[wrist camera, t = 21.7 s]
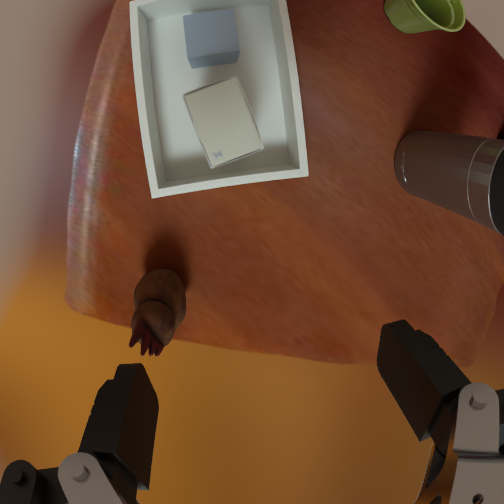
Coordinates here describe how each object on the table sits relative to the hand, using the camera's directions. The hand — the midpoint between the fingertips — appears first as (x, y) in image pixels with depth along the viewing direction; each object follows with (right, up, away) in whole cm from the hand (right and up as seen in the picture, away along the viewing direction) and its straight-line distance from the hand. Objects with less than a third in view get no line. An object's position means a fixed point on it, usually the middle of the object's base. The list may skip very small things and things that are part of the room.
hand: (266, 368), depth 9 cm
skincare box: (-4, +17, +22) cm, 29 cm away
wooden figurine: (-12, 0, +29) cm, 32 cm away
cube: (-5, +27, +19) cm, 33 cm away
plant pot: (+20, +36, +19) cm, 45 cm away
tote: (-4, +22, +21) cm, 31 cm away
